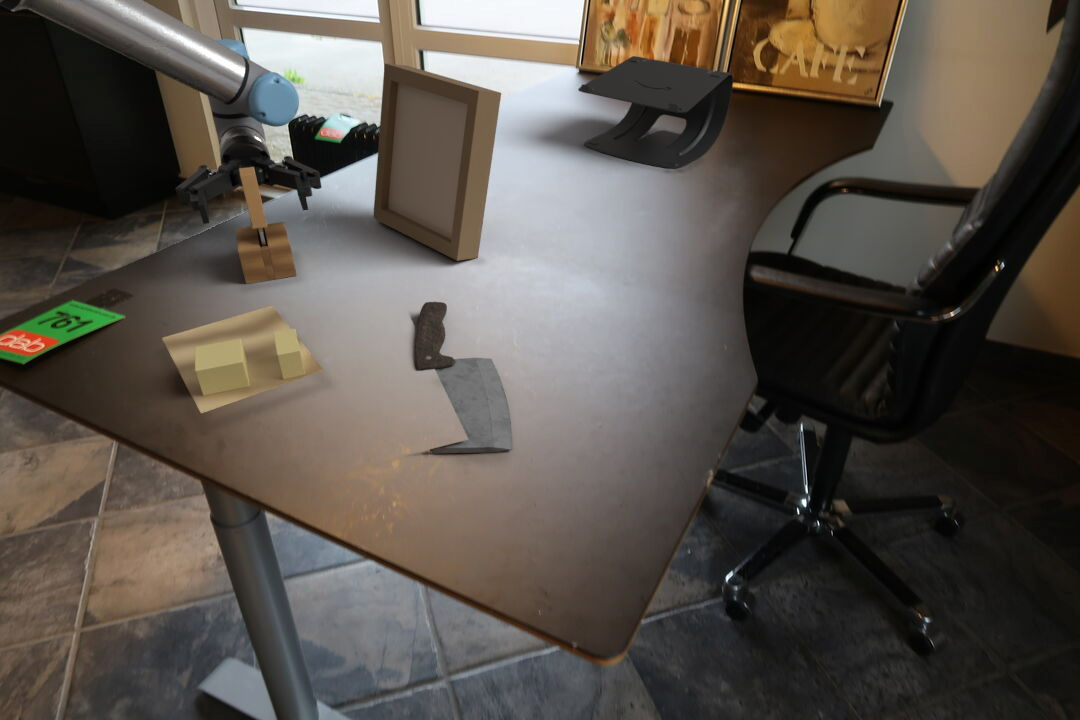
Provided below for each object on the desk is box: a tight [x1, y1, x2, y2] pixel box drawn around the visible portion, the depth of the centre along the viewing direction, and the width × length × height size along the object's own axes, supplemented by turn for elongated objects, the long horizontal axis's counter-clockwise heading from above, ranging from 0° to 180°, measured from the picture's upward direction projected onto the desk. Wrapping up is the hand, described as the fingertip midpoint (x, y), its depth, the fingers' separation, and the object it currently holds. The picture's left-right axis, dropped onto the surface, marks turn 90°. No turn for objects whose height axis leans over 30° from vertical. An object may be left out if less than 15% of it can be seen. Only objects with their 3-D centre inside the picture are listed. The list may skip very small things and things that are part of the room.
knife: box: [239, 167, 268, 247], centre depth 102 cm, size 6×2×15 cm, turn 22°
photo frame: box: [372, 62, 502, 262], centre depth 111 cm, size 15×22×25 cm
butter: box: [195, 339, 250, 396], centre depth 80 cm, size 5×5×4 cm
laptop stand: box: [578, 55, 734, 169], centre depth 151 cm, size 26×24×16 cm
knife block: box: [234, 221, 297, 285], centre depth 105 cm, size 9×7×5 cm
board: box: [161, 305, 324, 414], centre depth 86 cm, size 18×14×2 cm
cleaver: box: [414, 301, 513, 454], centre depth 84 cm, size 29×10×2 cm, turn 13°
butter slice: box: [273, 328, 305, 379], centre depth 83 cm, size 5×2×4 cm, turn 22°
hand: (255, 207), depth 98 cm, fingers open, 12 cm apart
